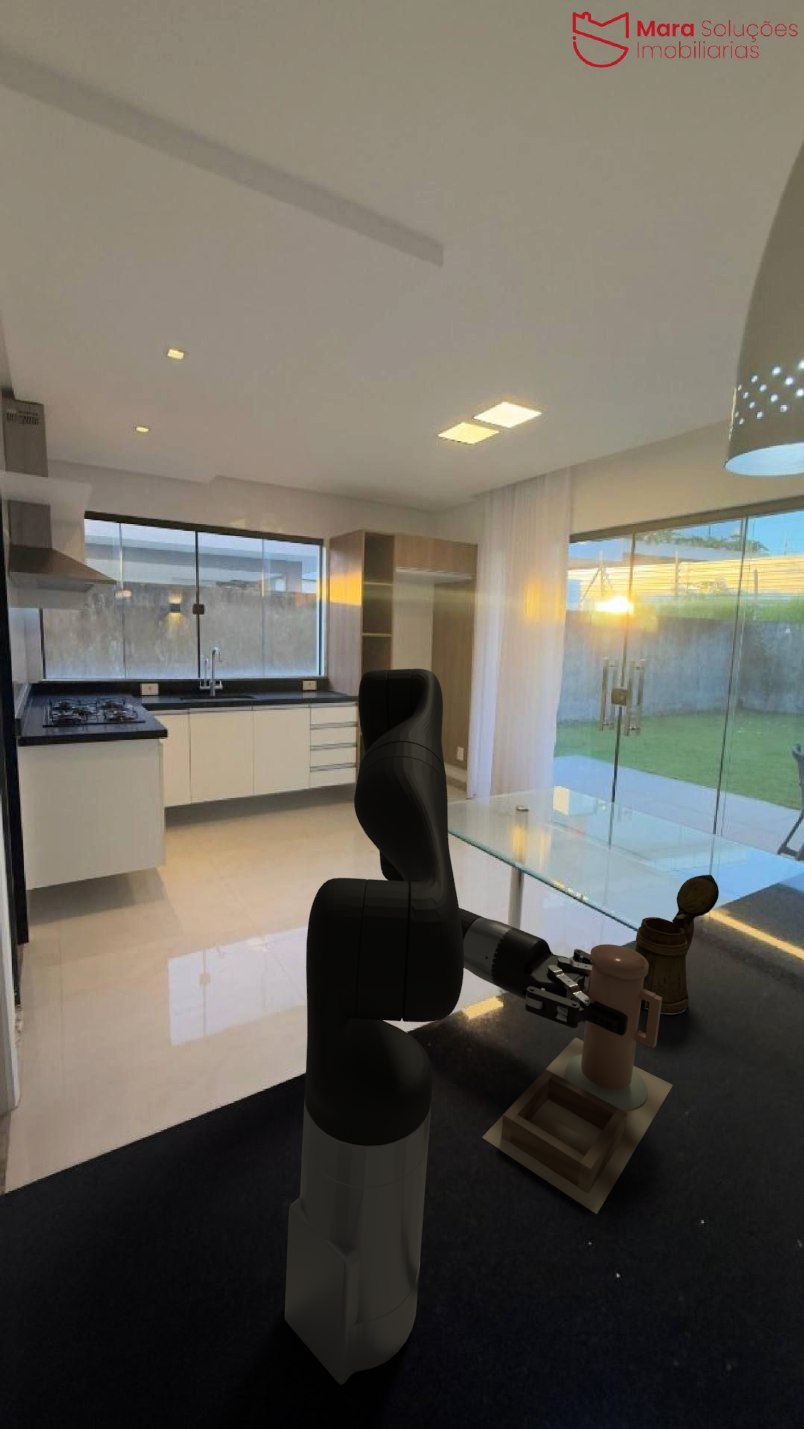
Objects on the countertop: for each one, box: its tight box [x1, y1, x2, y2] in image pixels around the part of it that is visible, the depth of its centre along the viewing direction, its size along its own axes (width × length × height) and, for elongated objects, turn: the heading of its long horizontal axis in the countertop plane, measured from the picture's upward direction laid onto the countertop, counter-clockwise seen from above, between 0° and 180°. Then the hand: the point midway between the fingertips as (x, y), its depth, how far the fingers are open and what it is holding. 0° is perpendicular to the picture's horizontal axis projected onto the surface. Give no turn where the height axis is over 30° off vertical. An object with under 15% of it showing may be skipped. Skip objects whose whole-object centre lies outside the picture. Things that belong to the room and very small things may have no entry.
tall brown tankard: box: [581, 943, 662, 1090], centre depth 69 cm, size 6×8×14 cm
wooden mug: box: [634, 874, 720, 1013], centre depth 90 cm, size 9×14×18 cm, turn 114°
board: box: [481, 1037, 674, 1215], centre depth 66 cm, size 22×12×4 cm, turn 140°
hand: (635, 1013), depth 68 cm, fingers closed on tall brown tankard, 5 cm apart
